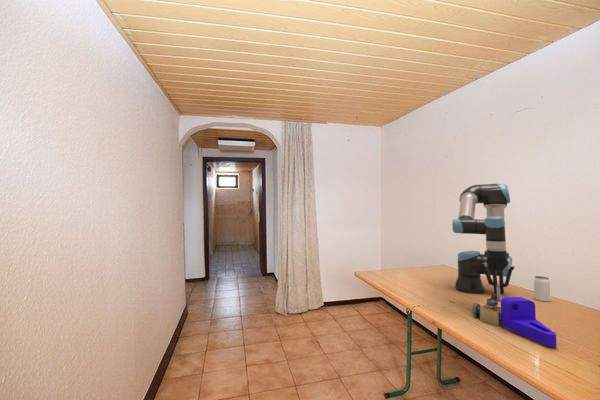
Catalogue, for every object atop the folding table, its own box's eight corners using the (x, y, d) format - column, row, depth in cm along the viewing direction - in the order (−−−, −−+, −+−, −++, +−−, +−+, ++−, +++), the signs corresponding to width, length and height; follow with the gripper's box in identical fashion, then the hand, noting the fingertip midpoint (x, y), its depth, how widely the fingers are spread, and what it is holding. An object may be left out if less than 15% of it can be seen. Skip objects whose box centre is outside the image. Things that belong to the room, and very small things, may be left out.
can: (553, 302, 142) (553, 279, 142) (539, 301, 143) (538, 278, 143) (545, 298, 148) (544, 276, 148) (531, 297, 149) (531, 275, 150)
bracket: (501, 325, 115) (500, 297, 115) (526, 324, 115) (525, 296, 115) (539, 347, 97) (538, 314, 97) (569, 346, 97) (568, 313, 97)
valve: (471, 318, 124) (471, 302, 124) (478, 314, 127) (478, 298, 128) (508, 329, 112) (507, 311, 112) (515, 325, 116) (514, 308, 116)
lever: (497, 306, 117) (497, 302, 117) (486, 304, 120) (486, 300, 120) (501, 297, 128) (501, 293, 128) (491, 295, 131) (490, 291, 131)
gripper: (514, 249, 124) (518, 301, 123) (482, 247, 133) (484, 296, 132) (512, 252, 118) (515, 306, 118) (478, 249, 127) (481, 300, 127)
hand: (499, 300), depth 125 cm, fingers closed
